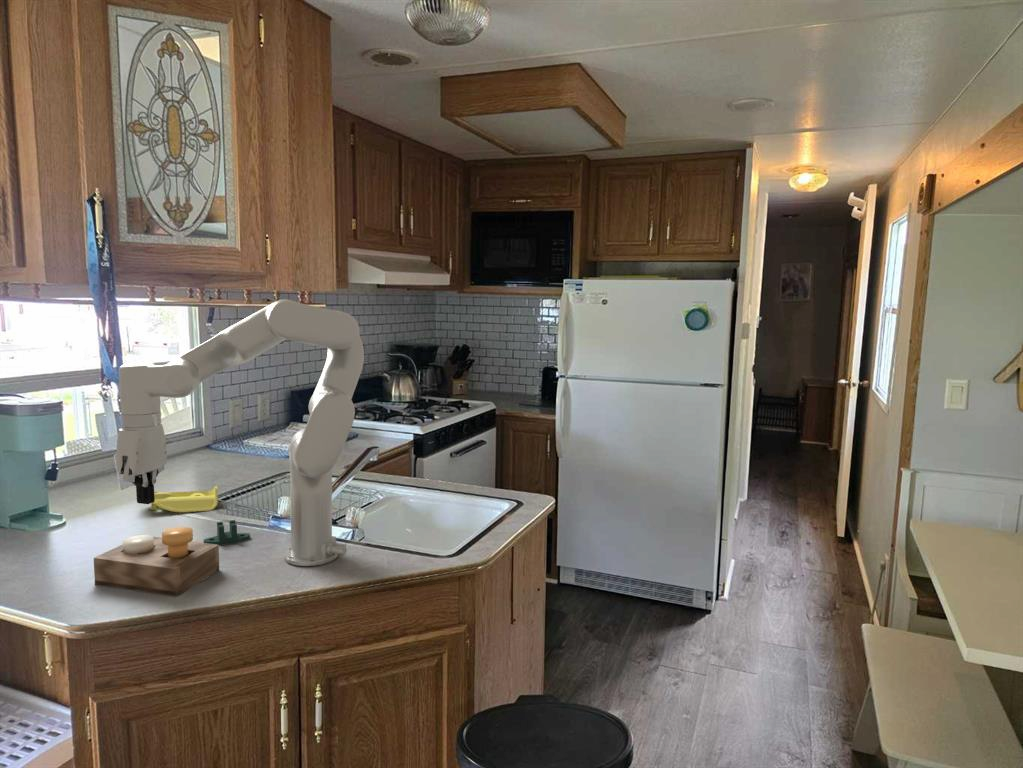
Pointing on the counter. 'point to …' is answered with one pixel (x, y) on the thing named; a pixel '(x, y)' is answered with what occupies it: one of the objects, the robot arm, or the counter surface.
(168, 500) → the plastic component
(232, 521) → the mount
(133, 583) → the wooden peg board
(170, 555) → the orange button
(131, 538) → the cream button
